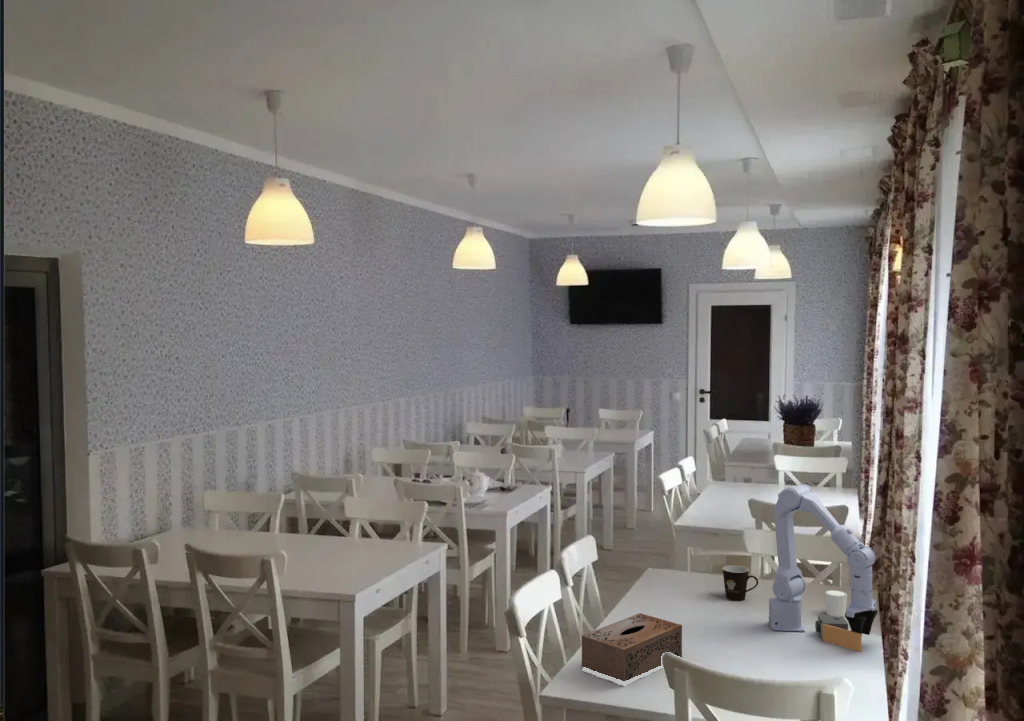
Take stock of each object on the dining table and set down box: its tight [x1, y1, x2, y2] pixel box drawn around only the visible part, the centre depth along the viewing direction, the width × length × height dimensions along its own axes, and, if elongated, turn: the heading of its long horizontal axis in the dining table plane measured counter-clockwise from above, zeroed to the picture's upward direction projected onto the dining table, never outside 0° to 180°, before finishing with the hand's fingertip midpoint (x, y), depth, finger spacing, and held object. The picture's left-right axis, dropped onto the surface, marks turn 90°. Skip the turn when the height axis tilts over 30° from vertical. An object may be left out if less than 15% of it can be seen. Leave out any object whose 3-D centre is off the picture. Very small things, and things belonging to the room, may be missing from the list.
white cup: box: [824, 589, 848, 618], centre depth 278 cm, size 7×7×7 cm
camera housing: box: [814, 614, 849, 637], centre depth 259 cm, size 8×7×6 cm
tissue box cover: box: [581, 613, 683, 681], centre depth 238 cm, size 26×14×10 cm, turn 135°
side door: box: [820, 623, 863, 653], centre depth 251 cm, size 12×1×5 cm, turn 42°
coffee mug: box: [722, 565, 759, 602], centre depth 294 cm, size 12×9×10 cm
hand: (861, 636), depth 251 cm, fingers open, 5 cm apart
